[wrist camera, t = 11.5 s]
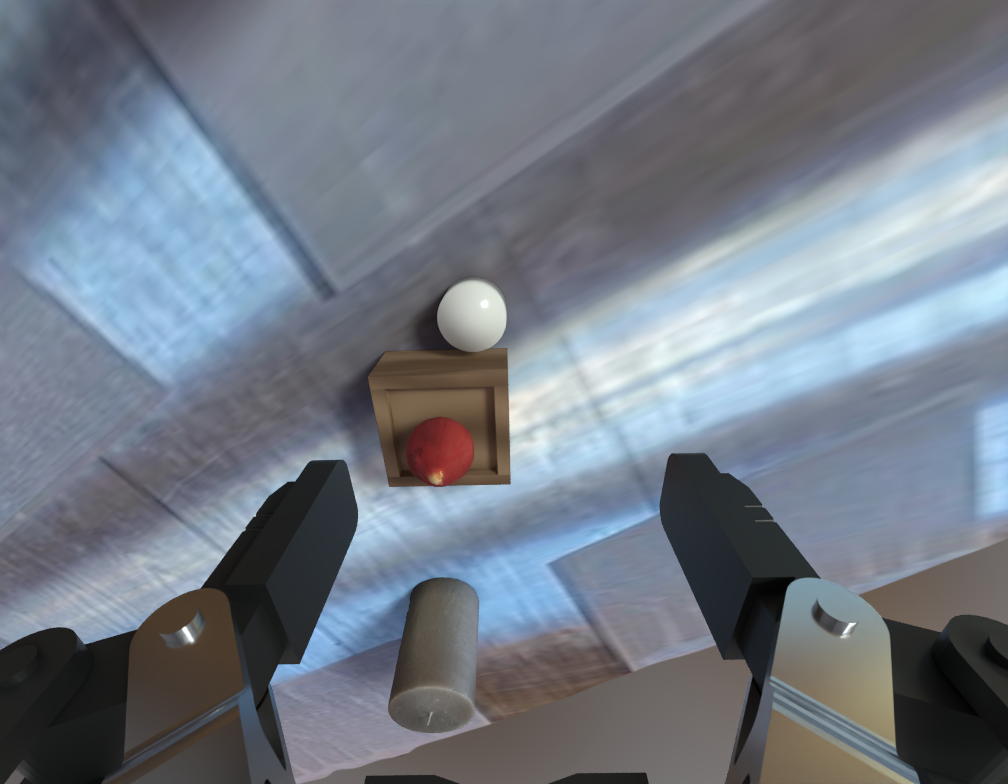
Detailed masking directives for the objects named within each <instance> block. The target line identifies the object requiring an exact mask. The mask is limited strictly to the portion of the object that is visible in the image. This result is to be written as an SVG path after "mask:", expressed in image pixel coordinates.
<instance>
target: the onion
mask: <svg viewBox="0 0 1008 784" xmlns="http://www.w3.org/2000/svg"><path fill="white" fill-rule="evenodd" d="M406 460H407V464H408V466H409V468H410V469H411V471H412V473H413V475H414V476H415V477H416V478H417V479H419V480H421V481H423V482H424V483H426V484H428V485H431V486H434V487H443V486H447V485H450V484H453V483H455V482H456V481H458V480H459V479H461V478H462V477H463V476H465V475H466V474H467V472H468V470H469V468H470V466H471V464H472V462H473V460H474V441H473V439H472V437H471V435H470V432H469V431H468V430H467V429H466V428H465V427H464V426H463V425H462V424H461V423H459V422H457V421H455V420H453V419H451V418H447V417H440V416H439V417H435V418H430V419H427V420H425V421H423V422H422V423H420V424H419V425H418V426H416V427H415V429H414V430H413V432H412V434H411V435H410V437H409V439H408V441H407V445H406Z"/></svg>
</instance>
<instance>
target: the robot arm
mask: <svg viewBox="0 0 1008 784" xmlns="http://www.w3.org/2000/svg"><path fill="white" fill-rule="evenodd" d="M660 517H661V521H662V525H663V528H664V530H665V532H666V534H667V537H668V539H669V541H670V543H671V545H672V548H673V550H674V552H675V554H676V556H677V559H678V561H679V563H680V565H681V567H682V570H683V572H684V574H685V576H686V579H687V581H688V583H689V585H690V587H691V590H692V592H693V594H694V596H695V598H696V601H697V603H698V605H699V607H700V609H701V612H702V614H703V616H704V618H705V620H706V623H707V625H708V627H709V629H710V631H711V634H712V636H713V638H714V640H715V642H716V645H717V647H718V649H719V651H720V653H721V656H722V658H723V660H728V659H730V660H731V659H733V660H735V659H745V660H746V663H747V665H748V667H749V668H750V671H751V673H752V674H751V676H750V679H749V682H748V685H747V690H746V695H745V699H744V703H743V708H742V712H741V717H740V721H739V726H738V730H737V735H736V739H735V743H734V748H733V752H732V756H731V761H730V765H729V770H728V773H727V777H726V781H725V784H1008V625H1006V624H1003V623H1001V622H998V621H995V620H992V619H989V618H985V617H981V616H976V615H960V616H955V617H954V618H952V619H951V620H950V621H949V623H948V624H947V625H946V627H945V628H944V629H943V631H942V632H936V631H933V630H929V629H925V628H921V627H917V626H912V625H909V624H905V623H901V622H897V621H892V620H889V619H885V618H882V617H881V616H880V615H879V614H878V613H877V611H876V610H875V609H874V608H873V607H872V606H871V605H870V604H868V603H867V602H866V601H865V600H863V599H862V598H861V597H860V596H858V595H857V594H855V593H854V592H852V591H850V590H848V589H847V588H845V587H843V586H840V585H838V584H836V583H833V582H830V581H827V580H823V579H821V578H820V577H819V576H818V574H817V573H816V572H815V571H814V569H813V568H812V567H811V566H810V564H809V563H808V562H807V561H806V559H805V558H804V557H803V555H802V554H801V553H800V552H799V550H798V549H797V548H796V547H795V545H794V544H793V543H792V542H791V540H790V539H789V538H788V536H787V535H786V534H785V533H784V531H783V530H782V529H781V528H780V526H779V525H778V524H777V523H776V522H774V521H773V517H772V516H771V515H770V514H769V512H768V511H767V510H766V509H765V508H763V507H762V504H761V502H760V501H759V500H758V498H757V497H756V496H755V495H754V493H753V492H752V491H751V490H750V488H749V487H747V486H746V485H745V484H743V483H742V482H740V481H739V480H738V479H736V478H735V477H733V476H732V475H730V474H729V473H720V472H719V471H718V469H717V468H716V467H715V465H714V464H713V463H712V461H711V460H710V459H709V457H708V456H707V455H706V454H705V453H672V454H671V455H670V456H669V458H668V461H667V467H666V472H665V477H664V483H663V488H662V493H661V499H660ZM357 522H358V508H357V503H356V499H355V495H354V491H353V487H352V483H351V479H350V475H349V471H348V467H347V464H346V463H345V461H344V460H313V461H310V462H309V463H308V464H307V465H306V467H305V468H304V470H303V471H302V473H301V474H300V476H299V477H298V478H297V480H296V481H295V482H287V483H286V484H284V485H283V486H282V487H280V488H279V489H278V490H277V491H275V492H274V493H273V494H271V495H270V496H269V497H268V498H267V500H266V501H265V502H264V504H263V505H262V506H261V508H260V509H259V510H258V512H257V513H256V517H253V518H252V520H251V521H250V522H249V524H248V525H247V527H246V530H245V531H243V532H242V533H241V535H240V536H239V537H238V539H237V540H236V541H235V543H234V544H233V545H232V547H231V548H230V549H229V551H228V552H227V554H226V555H225V556H224V558H223V559H222V560H221V562H220V563H219V564H218V566H217V567H216V568H215V570H214V571H213V572H212V574H211V575H210V576H209V578H208V579H207V581H206V582H205V583H204V585H203V586H202V587H201V588H200V589H198V590H194V591H190V592H187V593H185V594H182V595H180V596H178V597H176V598H174V599H172V600H170V601H169V602H167V603H165V604H164V605H162V606H161V607H160V608H158V609H157V610H156V611H155V612H153V613H152V614H151V615H150V616H149V617H148V618H147V619H146V620H145V621H144V622H143V623H142V625H141V626H140V627H139V628H138V629H137V630H134V631H131V632H127V633H124V634H120V635H117V636H113V637H110V638H106V639H103V640H99V641H96V642H92V643H89V644H85V645H84V643H83V642H82V641H81V640H80V638H79V637H78V636H77V635H76V633H75V632H74V631H73V630H71V629H68V628H61V627H57V628H50V629H46V630H42V631H39V632H36V633H33V634H30V635H28V636H26V637H24V638H21V639H19V640H17V641H15V642H14V643H12V644H10V645H8V646H6V647H5V648H3V649H1V650H0V784H4V783H5V782H6V781H7V779H8V778H9V777H10V775H11V774H12V773H13V772H14V770H15V769H16V770H17V771H19V772H20V773H21V774H22V775H23V776H25V778H24V779H23V781H22V782H21V783H20V784H296V783H295V780H294V776H293V772H292V768H291V764H290V760H289V756H288V752H287V747H286V743H285V739H284V735H283V731H282V726H281V722H280V718H279V714H278V710H277V706H276V701H275V697H274V693H273V689H272V686H271V684H270V681H271V679H272V676H273V674H274V672H275V670H276V668H277V666H278V664H300V662H301V659H302V657H303V655H304V652H305V650H306V648H307V645H308V643H309V640H310V638H311V636H312V633H313V631H314V629H315V626H316V624H317V621H318V619H319V617H320V614H321V612H322V610H323V607H324V605H325V603H326V600H327V598H328V595H329V593H330V591H331V588H332V586H333V584H334V581H335V579H336V576H337V574H338V572H339V569H340V567H341V565H342V562H343V560H344V558H345V555H346V553H347V550H348V548H349V546H350V543H351V541H352V539H353V536H354V534H355V531H356V527H357ZM364 784H458V783H456V782H453V781H450V780H447V779H444V778H441V777H439V776H436V775H402V776H401V775H399V776H398V775H395V776H366V779H365V783H364ZM549 784H649V783H648V779H647V774H646V773H577V774H574V775H571V776H569V777H566V778H563V779H560V780H558V781H555V782H552V783H549Z"/></svg>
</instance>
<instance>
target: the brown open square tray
mask: <svg viewBox="0 0 1008 784" xmlns="http://www.w3.org/2000/svg"><path fill="white" fill-rule="evenodd" d="M368 380H369V385H370V390H371V396H372V401H373V406H374V411H375V416H376V421H377V426H378V431H379V437H380V442H381V447H382V452H383V457H384V462H385V467H386V472H387V477H388V483H389V487H405V486H431V485H428V484H426V483H424V482H423V481H421V480H419V479H417V478H416V477H415V476H414V475H413V473H412V471H411V469H410V468H409V466H408V464H407V460H406V445H407V441H408V439H409V437H410V435H411V434H412V432H413V430H414V429H415V427H416V426H418V425H419V424H420V423H422V422H423V421H425V420H427V419H430V418H435V417H439V416H440V417H447V418H451V419H453V420H455V421H457V422H459V423H461V424H462V425H463V426H464V427H465V428H466V429H467V430H468V431H469V432H470V435H471V437H472V439H473V441H474V460H473V462H472V464H471V466H470V468H469V470H468V472H467V474H466V475H465V476H463V477H462V478H461V479H459V480H458V481H456V482H455V483H453V484H450V485H447V486H453V485H501V484H511V483H510V436H509V397H508V358H507V348H493V349H486V350H483V351H479V352H467V351H463V350H460V349H453V350H414V351H385V353H384V354H383V356H382V357H381V359H380V360H379V362H378V363H377V365H376V366H375V367H374V369H373V370H372V372H371V373H370V375H369V376H368Z"/></svg>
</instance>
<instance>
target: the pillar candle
mask: <svg viewBox="0 0 1008 784" xmlns="http://www.w3.org/2000/svg"><path fill="white" fill-rule="evenodd" d="M478 618H479V599H478V596H477V594H476V592H475V590H474V589H473V588H472V587H471V586H470V585H468V584H467V583H465V582H462V581H460V580H457V579H452V578H435V579H431V580H428V581H425V582H422V583H420V584H419V585H417V586H416V587H415V588H414V590H413V592H412V593H411V597H410V605H409V610H408V612H407V616H406V623H405V628H404V632H403V637H402V642H401V646H400V650H399V656H398V661H397V665H396V670H395V675H394V680H393V685H392V689H391V694H390V699H389V705H388V711H389V714H390V716H391V718H392V719H393V720H394V721H395V722H397V724H399V725H400V726H402V727H404V728H407V729H409V730H413V731H417V732H423V733H442V732H448V731H452V730H455V729H458V728H459V729H460V728H462V727H463V726H464V725H467V724H468V723H469V722H470V721H471V719H472V717H473V716H474V714H475V713H474V711H475V707H474V705H475V683H476V661H477V641H478Z"/></svg>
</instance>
